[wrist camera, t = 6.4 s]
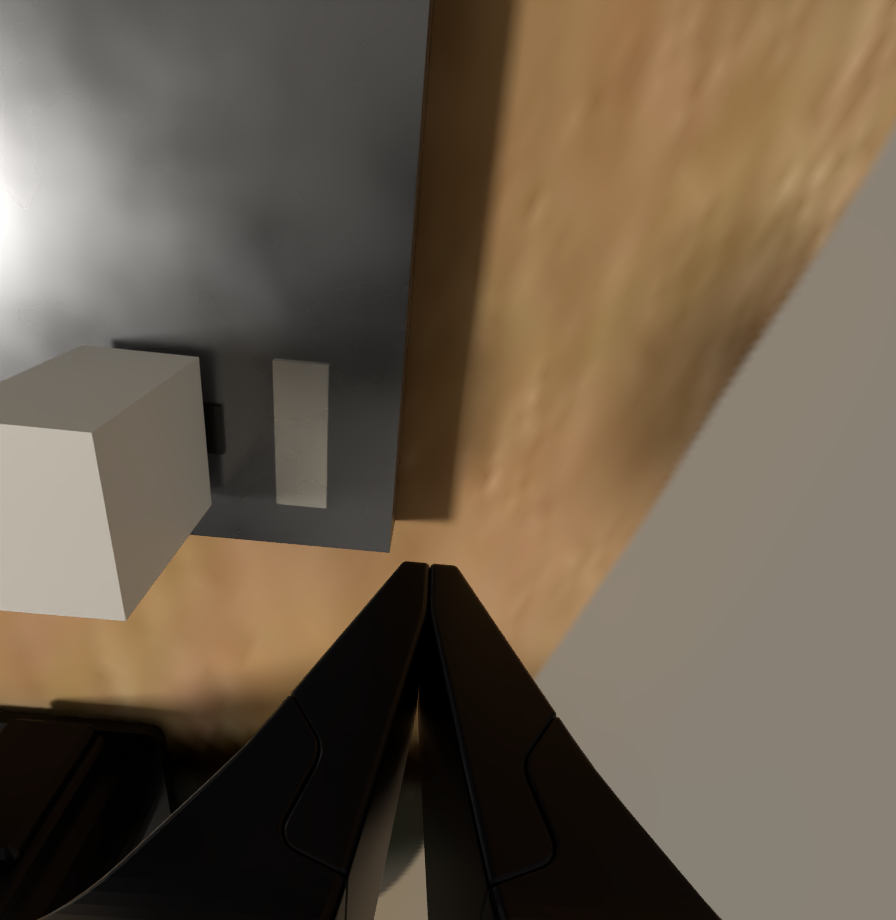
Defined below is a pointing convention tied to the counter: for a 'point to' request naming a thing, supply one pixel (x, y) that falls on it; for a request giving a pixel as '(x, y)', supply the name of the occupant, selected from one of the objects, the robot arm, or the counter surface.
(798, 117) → the counter surface
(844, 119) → the counter surface
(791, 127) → the counter surface
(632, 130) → the counter surface
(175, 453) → the block
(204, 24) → the dark grey flat plate
